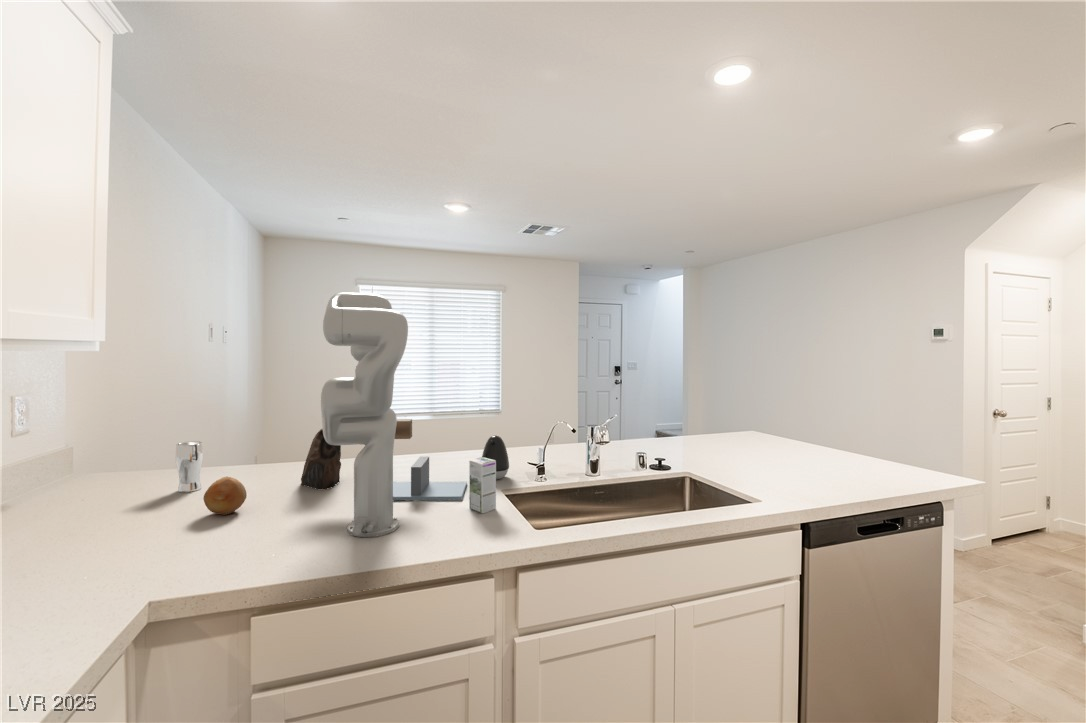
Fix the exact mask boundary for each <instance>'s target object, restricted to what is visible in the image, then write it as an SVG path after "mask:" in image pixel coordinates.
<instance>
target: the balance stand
mask: <svg viewBox="0 0 1086 723" xmlns="http://www.w3.org/2000/svg"><path fill="white" fill-rule="evenodd" d="M467 485H468V482H467V481H430V456H419V457H418V458H417V459H416V461H415V462H414V463H413V464H412V465H411V467H410V481H393V500H429V501H462V500H463V497H464V494H465V491H466V489H467Z"/></svg>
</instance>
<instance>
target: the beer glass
mask: <svg viewBox="0 0 1086 723" xmlns="http://www.w3.org/2000/svg"><path fill="white" fill-rule="evenodd" d="M202 443H203V442H202V441H199V440H198V441H197V440H193V441H184V442H179V443H178V442H177V443H176V448H175V463H176V468H177V473H178V478H179V479H178V480H179V482H178V486H177V487H178V488H177V492H179V493H193V492H196V490H197V491H199V489H200V490H201V489H202V484H201V479H200V478H201V475H200V474H201V470H202V465H203V456H204V455H203V444H202ZM192 491H193V492H192Z"/></svg>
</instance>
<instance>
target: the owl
mask: <svg viewBox="0 0 1086 723" xmlns="http://www.w3.org/2000/svg"><path fill="white" fill-rule="evenodd" d="M341 449H342V445H330V444H328V443H327V442H326V441H325V438H324V435H323V428H322V427H321V429H319V430H318V432H316V434H315V435H314V437H313V439H312V441H311V444H310V447H309V450H308V453H307V456H306V459H305V462H304V464H303V470H302V475H301V478H300V481H301V483H300V485H301V486H304V485H305V486H304V487H307V486H309V487H308V488H311V487H312V489H315V488H316V489H315V490H318V489H325V490H327V488H329V489H332V488H334V486H335V487H336V485H335V484H337V485H338V482H339V483H340V474H341V469H342V468H341V467H342V463H341V462H342V461H341V457H342V456H341V455H342V452H341V451H342V450H341ZM331 487H332V488H331Z"/></svg>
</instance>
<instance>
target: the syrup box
mask: <svg viewBox="0 0 1086 723" xmlns="http://www.w3.org/2000/svg"><path fill="white" fill-rule="evenodd" d="M468 462H469V510H472V511H475V512H477V513H480V514H484V513H488V512H491V511H494V510H496V509H497V479H496V460H492V459H488V458H484V457H482V456H481V457H477V458H476V457H475V458H473V459H470V460H469V461H468Z"/></svg>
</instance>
